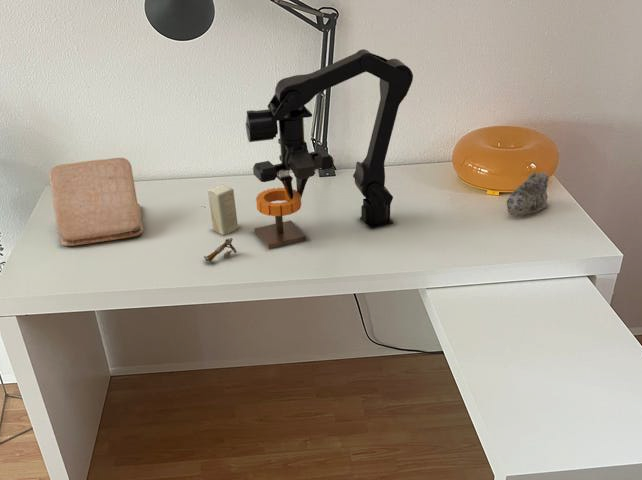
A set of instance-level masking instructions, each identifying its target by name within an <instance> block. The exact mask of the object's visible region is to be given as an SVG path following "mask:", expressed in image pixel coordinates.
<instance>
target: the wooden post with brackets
mask: <svg viewBox="0 0 642 480" xmlns="http://www.w3.org/2000/svg"><path fill="white" fill-rule="evenodd" d="M233 240H234V239H233V237H230V238H229V237H228V238H226V239H225V241H224V242H223V243H222V244H221V245H219V246H218V247H217V248H216V249H215V250H214V251H213V252H211V253H210V254H209V255H203V258H204V260H206V262H207V263H208V264H209V265H212V261H213V260H214V259H215V258H216V256H218V255H220V253H222V252H223V251H224V250H225V249H226V248H229V249H230V250H226V252H224V253H223V255H222V257H223V258H224V259H225V258H229V256H231V254H232V252H233V253H235V254H236V253H237V252H238V251H237V249H236V247H234V245H233V244H232V243H233Z"/></svg>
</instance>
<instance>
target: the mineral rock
mask: <svg viewBox="0 0 642 480" xmlns="http://www.w3.org/2000/svg"><path fill="white" fill-rule="evenodd" d="M548 181H549V175H548V173H547V172H544V171H541V172H539V173H537V172H535V171H533V172H531V173H530V174H529V176H527V178H526V180H525V181H524V182H523V183H522V184H521V185H519V186H518V187H516V189H515V190H514V191H512V192H511V194H510V196H509V197H508V198H507V200H506V207H507V212H508V214H509V215H510V216H526V215H528V214H532V213H535V212H539V211H540V210H544V209H545V208H547V205H548V197H549V196H548V193H547V189H548Z"/></svg>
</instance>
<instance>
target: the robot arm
mask: <svg viewBox="0 0 642 480" xmlns="http://www.w3.org/2000/svg"><path fill="white" fill-rule="evenodd" d="M364 73H367V74H371V75H372V76H374V77H377V78H378V79H379V83H378V84H379V95H380V99H379V103H378V108H377V112H376V116H375V119H374V124H373V128H372V131H371V136H370V139H369V140H370V141H369V145H368V149H367V152H366V156H365V158H364V159H363V160H362V161H356V163H355V171H354V173H353V175H352V177H353V179H354V184H355V186H356V188H357V189H358V190H359V191H360V193H361V194H362V196H363V197H364V198H363V199H362V205H361V207H360V208H361V209H360V210H361V211H360V212H361V213H360V215H361V216H360V217H359V220H360V221H361V222H363V223H364V225H366V226H367V227H368V228H370V229H375V228H381V227H384V226H388V225H393V224H394V221H393V220H392V219H391V205H392V202H393V200H394V196H393V195H392V193H391V192H390V191H389V190H388V188H387V187H386V186H385V184H386V171H385V170H386V169H385V161H386V158H387V154H388V150H389V146H390V142H391V138H392V134H393V130H394V126H395V123H396V119H397V115H398V111H399V108H400V105H401V103H402V102H403V101H404V99H405V98H406V96H408V93H409V91H410V88H411V86H412V84H413V81H414V74H413V71H412V69H411V68H410V67H409V66H408V65H406V64H405V63H403V61H402V60H400V59H398V58H390V59H387V58H385V57H383V56H380V55H378V54H376V53H372V52H370V50H368V49H365V48H364V49H359V50H358V51H356V52H355V53H353V54H351V55H349V56H346V57H344V58H342V59H340V60H337V61H335V62H333V63H331V64H329V65H325V66H324V67H322V68H320V69H318V70H315V71H313V72H311V73H307V74H306V73H305V74H295V75H292V76H289V77H284V78H282V79H280V80H278V82H277V83H276V86H275V88H274V94H273V95H272V97H271V99H270V101H269V103H268V104H267V109H260V110H259V109H258V110H246V116H245V117H246V118H245V121H246V122H245V130H246V137H247V140H248V142H249V143H254V142H255V143H256V142H262V141H273V140H274V139H275V138H277V135H278V134H279V138H278V139H277V143H278V144H279V149H280V155H279V157H278V159H279V161H280V163H277V164H273V163H271V161H269V160H265V161H261V162H260V161H259V162H256V163H254V165H253V167H252V171H253V176H255V177H256V179H258V180H259V181H260V182H261V183H268V182H272V181H275V180H276V179H278V180H279V181H280V182H281V184H282V185H283V188H285V189H286V192H287V194H288V196H289V198H290V200H291V199H292V198H293V190H294V189H293V183H292V181H293V179H294V178H293V177H292V176H291V175H290V174H291V173H290V171H291V172H292V174H293V175H294V177H295V184H296V191H298V192H299V193H300V194H301V198H302V197H303V194H304V191H305V187H306V185H307V182H308V180H309V178H311V177H313V176H315V174H316V170H317V171H318V170H322V171H324V170H330V169H333V168H335V167H334V166H335V160H334V158H333V156H332V155H331V154H330V153H328V152H327V151H325V150H324V149H320V150H316V151H309V150H308V143H307V142H306V140H305V121H304V120H305V118H312V117H313V113H312V112H311V110H310V109H309V108H307V107H306V105H307V104H309V103H310V102H311V101H312V100H313V99H314V98H315V97H316V96H317V95H318V94H320V93H321V92H324V91H326V90H328V89H330V88H332V87H335V86H337V85H339V84H341V83H344V82H346V81H348V80H351V79H352V78H355V77H357V76H359V75H361V74H364ZM292 189H293V190H292Z"/></svg>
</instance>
